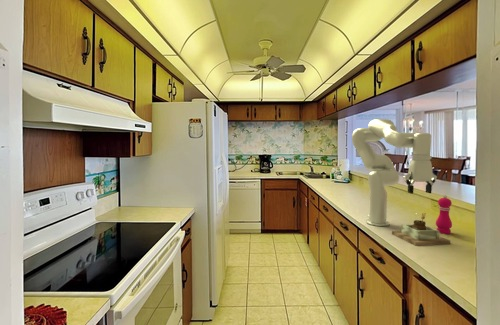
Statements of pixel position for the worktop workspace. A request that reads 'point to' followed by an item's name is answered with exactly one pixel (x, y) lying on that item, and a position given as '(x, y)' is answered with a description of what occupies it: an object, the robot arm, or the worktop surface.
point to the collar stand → (420, 236)
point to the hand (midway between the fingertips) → (419, 193)
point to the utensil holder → (419, 223)
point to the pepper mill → (444, 216)
